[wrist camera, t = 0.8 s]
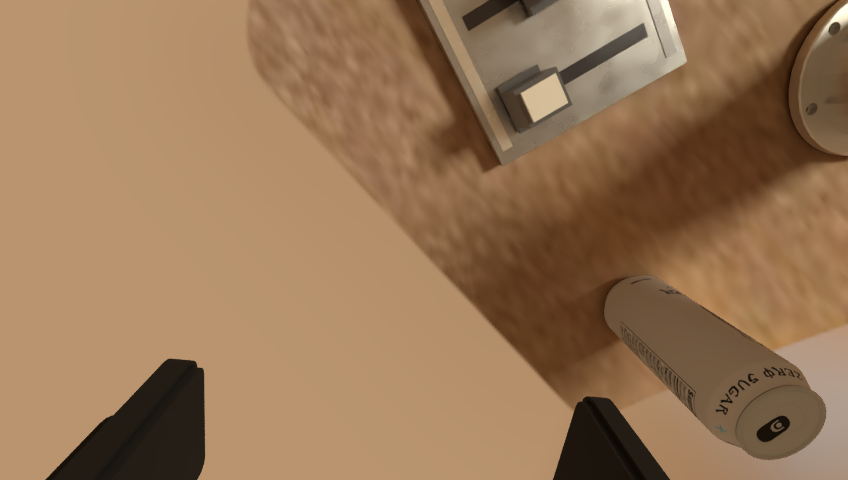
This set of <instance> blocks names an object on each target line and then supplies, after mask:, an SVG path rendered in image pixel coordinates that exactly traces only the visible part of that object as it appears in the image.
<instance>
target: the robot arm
mask: <svg viewBox="0 0 848 480" xmlns="http://www.w3.org/2000/svg"><path fill="white" fill-rule="evenodd" d="M789 107H790V112H791V117H792V120H793V122H794V124H795V127H796V129H797V131H798V132H799V133H800V135H801V136H802V137H803V139H804V140H805V141H806V142H808V143H809V144H810V145H811V146H813V147H814V148H816V149H818V150H820V151H823V152H825V153H828V154H835V155H841V156H848V0H839V1H838V2H837V3H836V4H834V5H833V6H832V7H831V8H830V9H829V10H828V11H827V12H826V13H825V14H824V15H823V16H822V17H821V18H820V19H819V20H818V22H817V23H816V24H815V26H814V27H813V29H812V30H811V31H810V33H809V34H808V36H807V37H806V39H805V41H804V43H803V45H802V47H801V49H800V50H799V52H798V55H797V57H796V60H795V63H794V66H793V69H792V73H791V78H790V84H789ZM204 419H205V416H204V370H203V369H202V368H197V364H196V362H195V361H191V360H180V359H168V360H166V361H165V362H164V363H163V364H162V365H161V366H160V367H159V368H158V369H157V370H156V371H155V372H154V373H153V374H152V375H151V376H150V377H149V379H148V380H147V381H146V382H145V383H144V384H143V385H142V386H141V387H140V388H139V389H138V390H137V391H136V392H135V393H134V395H132V396H131V397H130V399H129V400H128V401H127V402H126V403H125V404H124V405H123V406H122V407H121V408H120V409H119V410H118V411H117V412H116V413H115V414H114V415H113V416H110V417H108V418H106V419H105V420H103V421H102V422H101V423H100V424H99V425H98V426H97V427H96V428H95V429H94V430H93V431H92V432H91V433H90V434H89V435H88V436H87V437H86V438H85V439H84V440H83V441H82V442H81V443H80V445H79V446H78V447H77V448H76V449H75V450H74V451H73V452H72V453H71V454H70V455H69V456H68V457H67V458H66V459H65V460H64V461H63V462H62V463H61V464H60V465H59V466H58V467H57V468H56V469H55V470H54V471H53V472H52V473H51V475H50V476H49V477H48V478H47V479H46V480H197V479H198V477H199V475H200V473H201V471H202V468H203V465H204V460H205V420H204ZM553 480H670V479H669V478H668V476H667V475H666V474H665V472H664V471H663V470H662V468H661V467H660V465H659V464H658V463H657V461H656V460H655V459H654V457H653V456H652V455H651V453H650V452H649V451H648V449H647V448H646V446H645V445H644V444H643V443H642V441H641V440H640V438H639V437H638V436H637V434H636V433H635V432H634V430H633V429H632V428H631V427H630V425H629V424H628V422H627V421H626V419H625V418H624V417H623V415H622V414H621V413H620V411H619V410H618V409H617V407H616V406H615V405H614V403H613V402H612V401H611V400H610V399H608V398H599V397H585V398H584V399H583V401H582V402H578V403H577V405H576V407H575V411H574V414H573V417H572V420H571V424H570V427H569V430H568V433H567V437H566V440H565V443H564V446H563V449H562V453H561V456H560V459H559V462H558V466H557V469H556V472H555V475H554V478H553Z"/></svg>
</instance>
